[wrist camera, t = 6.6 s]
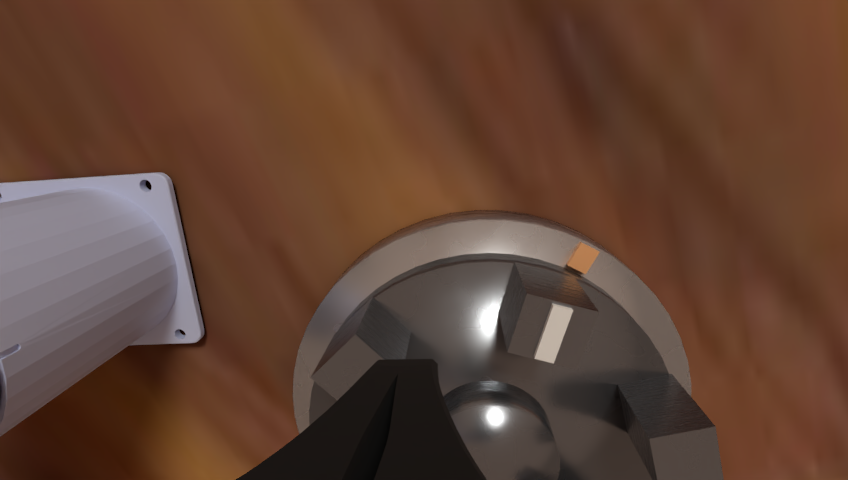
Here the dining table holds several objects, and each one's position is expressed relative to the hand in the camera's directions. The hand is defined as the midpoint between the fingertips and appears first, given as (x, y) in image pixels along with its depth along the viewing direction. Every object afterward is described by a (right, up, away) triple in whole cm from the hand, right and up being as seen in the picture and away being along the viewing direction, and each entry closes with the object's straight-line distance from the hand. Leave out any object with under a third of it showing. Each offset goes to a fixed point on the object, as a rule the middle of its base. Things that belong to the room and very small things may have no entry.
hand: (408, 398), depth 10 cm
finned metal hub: (+3, -4, +9) cm, 11 cm away
